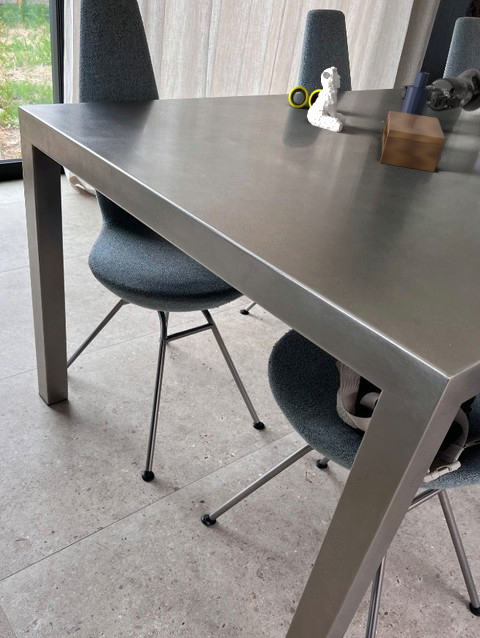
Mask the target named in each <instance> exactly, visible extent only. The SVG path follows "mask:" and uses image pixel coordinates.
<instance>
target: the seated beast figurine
mask: <svg viewBox="0 0 480 638" xmlns="http://www.w3.org/2000/svg"><path fill="white" fill-rule="evenodd" d="M320 78H321V81H320V82H321V86H322V88H323V89H321V90H322V91H321V92H320V93H319V97H318V99H317V100H316V102H315V103H314V104H313V106H311V108H310V107H309V109H308V111H307V115H306V116H307V117H306V118H307V121H308V122H309V123H310V124H311V125H312V126H314V127H316V128H317V127H318V128H321V129H325V130H328V131H330V132H331V131H332V132H335V133H341V132H342V130H343V127H344V126H345V124H346V121H347V117H346V116H345V115H343V114H342V113H340V112H338V108H337V107H338V89H340V87H341V80H340V79H341V76H340V75H339V73H338V67H335V66H331V67H328V68H326V69H325V70H323V72H322V73H321V76H320Z"/></svg>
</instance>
